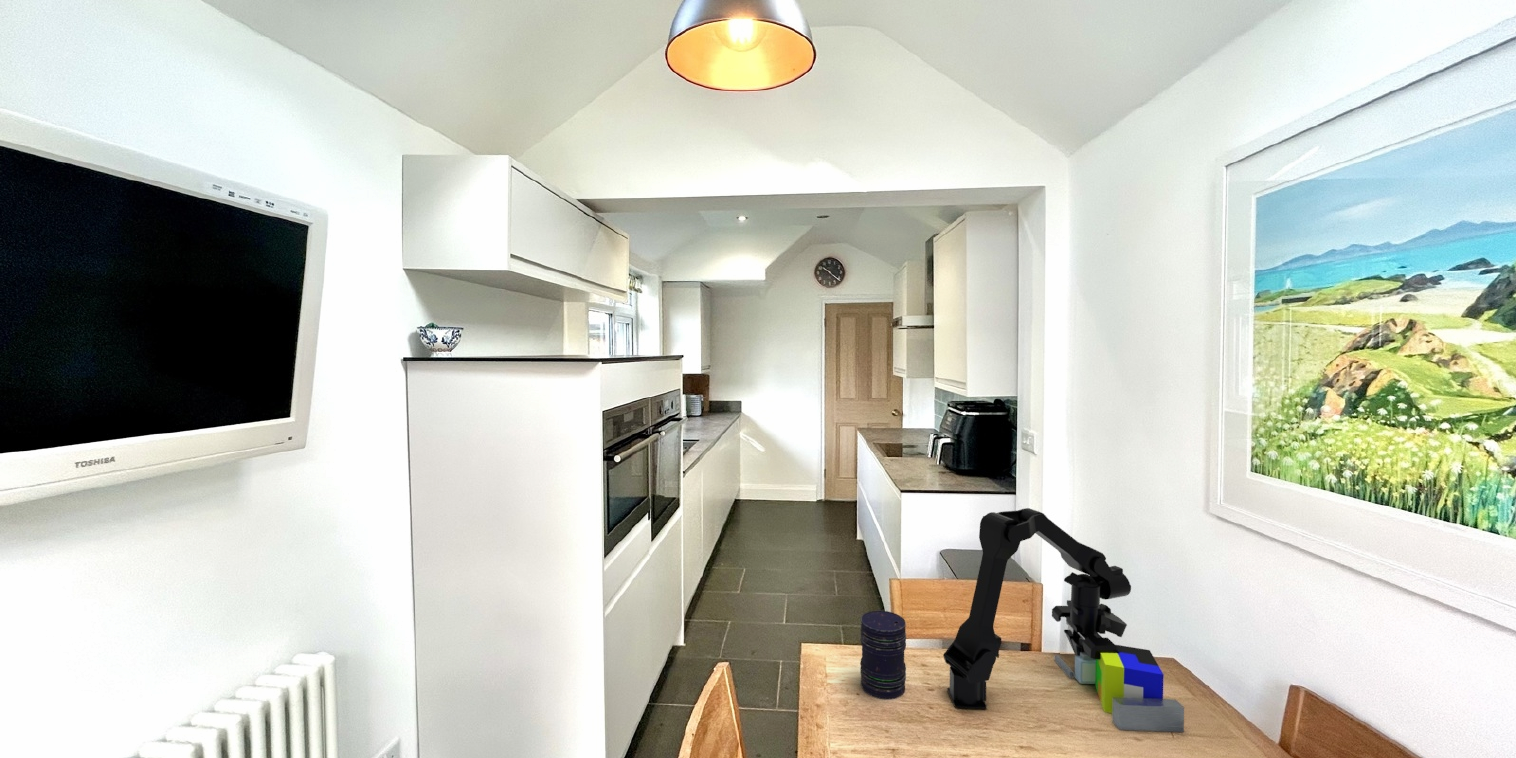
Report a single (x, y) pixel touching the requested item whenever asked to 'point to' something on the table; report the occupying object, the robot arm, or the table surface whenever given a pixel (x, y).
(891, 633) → the storage jar
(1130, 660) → the puzzle toy
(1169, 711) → the grey rail base
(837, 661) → the table surface
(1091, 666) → the bar
